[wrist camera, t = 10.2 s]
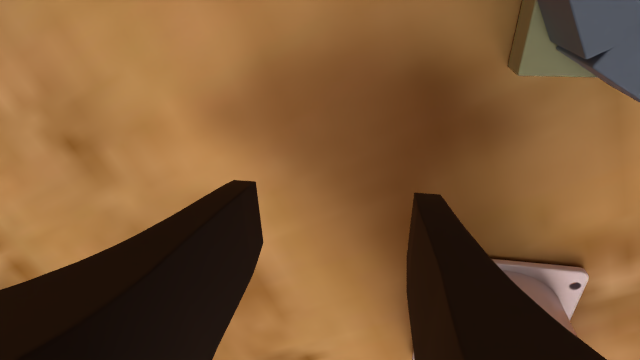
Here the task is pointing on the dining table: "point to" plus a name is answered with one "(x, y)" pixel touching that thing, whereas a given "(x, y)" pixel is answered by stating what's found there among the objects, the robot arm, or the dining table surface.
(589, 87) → the dining table surface
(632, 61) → the ring
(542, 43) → the post
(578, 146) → the dining table surface
